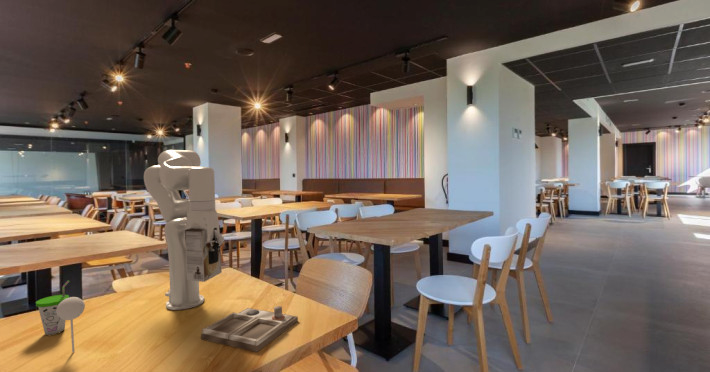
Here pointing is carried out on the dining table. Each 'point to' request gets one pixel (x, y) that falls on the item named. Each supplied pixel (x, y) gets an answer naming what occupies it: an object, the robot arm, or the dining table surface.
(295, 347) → the dining table surface
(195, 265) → the coffee box
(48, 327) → the cup
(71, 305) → the lollipop
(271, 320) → the grey compartment tray
